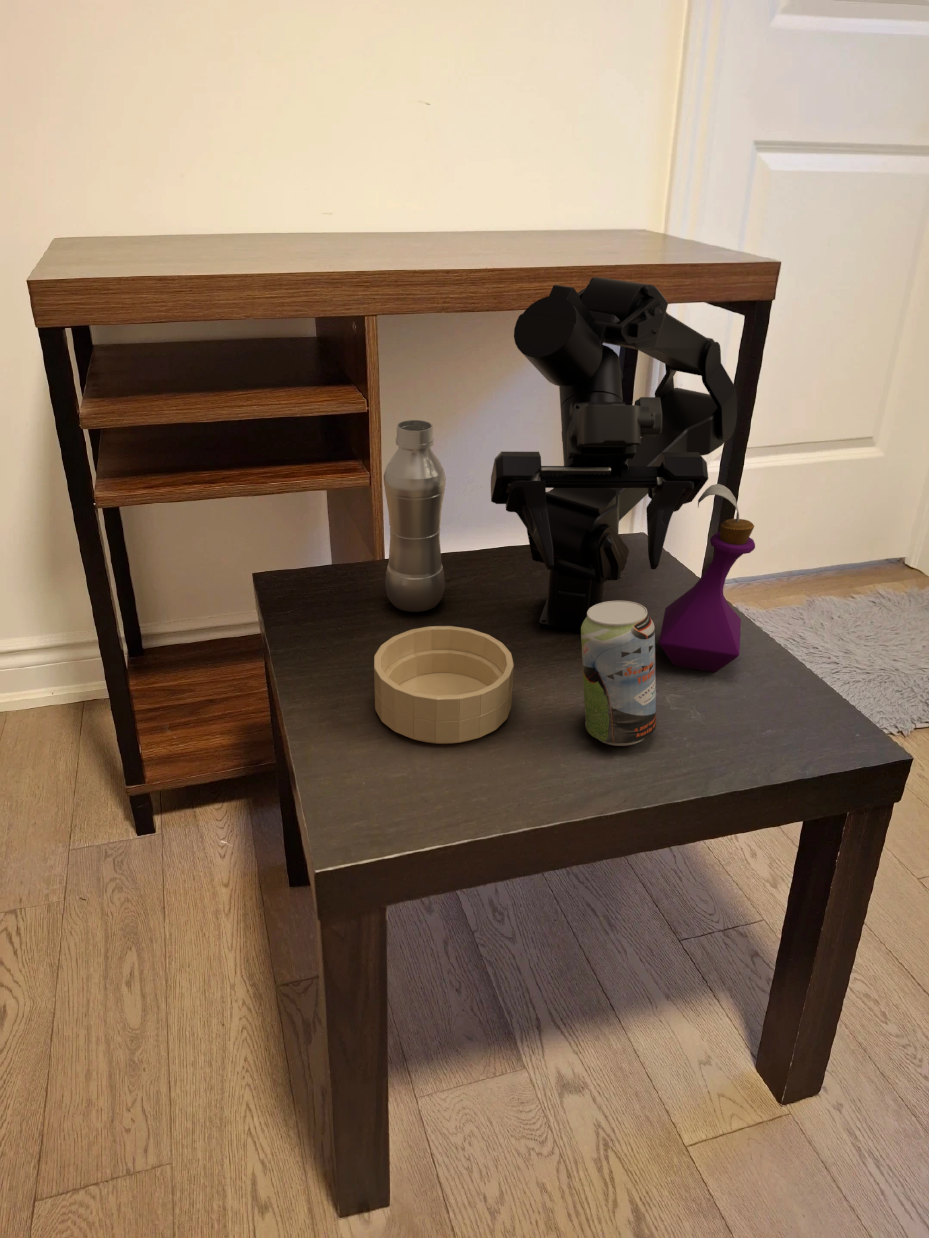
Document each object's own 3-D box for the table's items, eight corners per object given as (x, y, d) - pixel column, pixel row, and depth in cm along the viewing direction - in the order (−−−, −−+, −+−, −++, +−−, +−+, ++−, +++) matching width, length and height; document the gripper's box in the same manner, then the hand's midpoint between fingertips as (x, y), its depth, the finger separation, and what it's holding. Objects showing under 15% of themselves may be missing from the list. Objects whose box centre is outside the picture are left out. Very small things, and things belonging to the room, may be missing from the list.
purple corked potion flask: (735, 646, 96) (767, 479, 87) (733, 684, 89) (768, 508, 81) (661, 635, 97) (685, 470, 89) (654, 671, 91) (679, 498, 82)
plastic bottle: (445, 591, 105) (448, 416, 95) (443, 620, 99) (446, 437, 89) (388, 589, 105) (385, 414, 95) (382, 619, 99) (378, 435, 89)
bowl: (398, 663, 91) (398, 618, 89) (522, 681, 89) (524, 636, 87) (356, 734, 81) (354, 686, 79) (494, 758, 79) (496, 708, 76)
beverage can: (637, 764, 78) (654, 640, 72) (558, 735, 82) (569, 614, 76) (665, 728, 83) (683, 608, 77) (590, 701, 86) (602, 585, 80)
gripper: (499, 359, 78) (506, 535, 74) (719, 361, 79) (738, 534, 75) (487, 423, 89) (493, 580, 84) (682, 424, 90) (697, 579, 86)
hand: (602, 568), depth 82 cm, fingers open, 9 cm apart
